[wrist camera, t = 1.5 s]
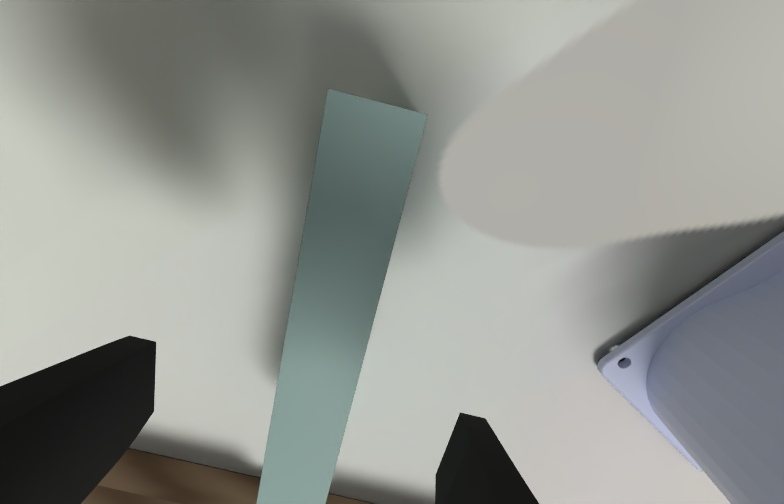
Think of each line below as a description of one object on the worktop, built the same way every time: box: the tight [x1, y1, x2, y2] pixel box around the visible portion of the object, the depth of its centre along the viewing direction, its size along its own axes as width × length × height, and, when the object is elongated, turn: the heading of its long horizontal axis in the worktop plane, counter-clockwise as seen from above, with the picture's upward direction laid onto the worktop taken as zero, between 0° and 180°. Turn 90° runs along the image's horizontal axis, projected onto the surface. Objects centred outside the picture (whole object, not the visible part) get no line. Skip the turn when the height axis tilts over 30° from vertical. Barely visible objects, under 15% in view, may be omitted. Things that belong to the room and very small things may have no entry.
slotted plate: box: [257, 89, 428, 504], centre depth 12 cm, size 14×2×6 cm, turn 166°
